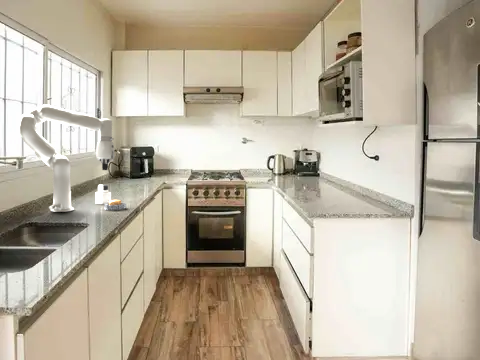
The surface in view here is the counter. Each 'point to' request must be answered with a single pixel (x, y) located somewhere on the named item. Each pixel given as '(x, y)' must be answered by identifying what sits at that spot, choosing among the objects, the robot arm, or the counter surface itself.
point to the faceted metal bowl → (115, 206)
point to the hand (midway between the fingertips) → (105, 170)
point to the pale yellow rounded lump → (114, 202)
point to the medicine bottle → (102, 195)
